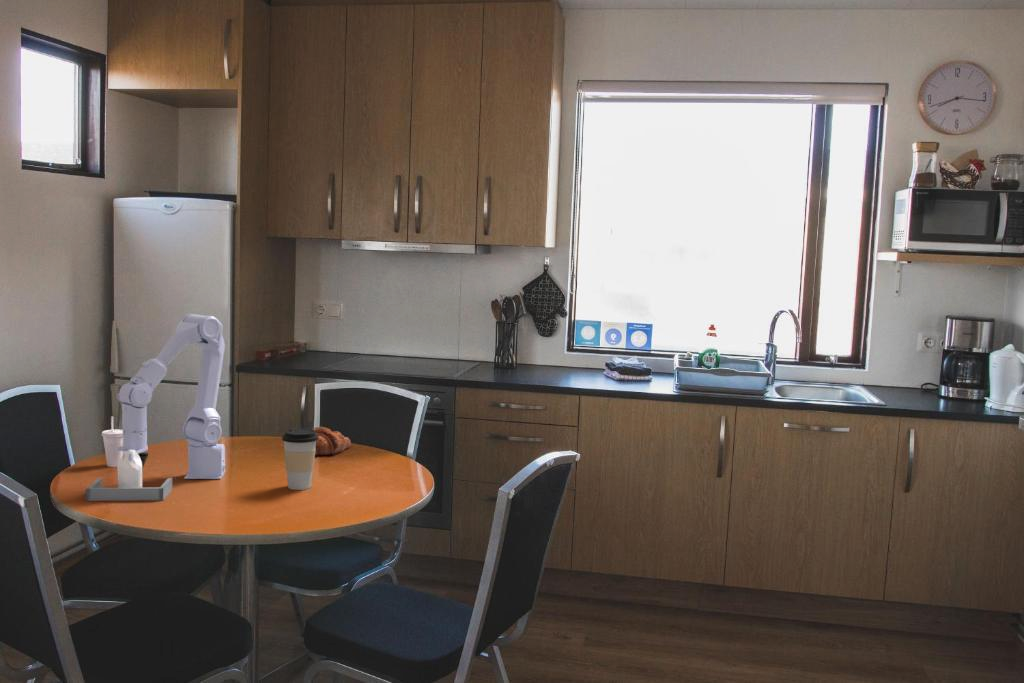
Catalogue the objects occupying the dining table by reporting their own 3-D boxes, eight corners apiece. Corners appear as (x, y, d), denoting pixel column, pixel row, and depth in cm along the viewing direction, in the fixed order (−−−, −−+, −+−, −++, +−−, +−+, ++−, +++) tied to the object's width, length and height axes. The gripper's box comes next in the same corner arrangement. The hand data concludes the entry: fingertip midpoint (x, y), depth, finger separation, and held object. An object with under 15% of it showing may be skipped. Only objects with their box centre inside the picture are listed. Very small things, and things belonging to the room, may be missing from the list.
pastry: (303, 445, 288) (303, 421, 287) (351, 446, 290) (352, 421, 289) (294, 458, 272) (294, 432, 271) (346, 459, 273) (346, 432, 272)
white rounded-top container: (130, 440, 228) (147, 447, 226) (132, 481, 232) (148, 488, 230) (111, 449, 223) (127, 456, 221) (112, 491, 227) (129, 498, 225)
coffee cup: (279, 483, 242) (279, 428, 241) (315, 481, 246) (315, 427, 244) (283, 493, 233) (284, 435, 232) (320, 490, 237) (321, 434, 235)
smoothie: (96, 465, 254) (96, 416, 252) (116, 461, 259) (115, 413, 258) (112, 469, 251) (111, 419, 249) (131, 464, 256) (131, 416, 255)
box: (172, 489, 233) (172, 478, 233) (163, 500, 224) (163, 488, 223) (98, 489, 231) (98, 478, 230) (86, 500, 221) (85, 488, 220)
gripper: (126, 424, 237) (126, 475, 238) (109, 436, 222) (110, 490, 224) (154, 424, 238) (154, 475, 239) (140, 436, 223) (140, 490, 225)
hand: (135, 482), depth 232 cm, fingers closed
